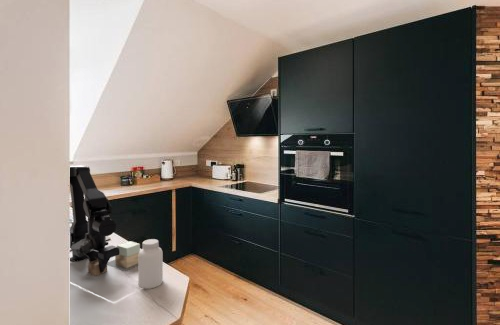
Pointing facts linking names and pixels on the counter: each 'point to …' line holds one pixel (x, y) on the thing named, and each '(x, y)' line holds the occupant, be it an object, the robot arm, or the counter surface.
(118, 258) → the tower base
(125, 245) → the tower mid
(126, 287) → the counter surface
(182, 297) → the counter surface
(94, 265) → the walnut block
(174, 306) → the counter surface
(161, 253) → the pill bottle
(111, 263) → the slate board
